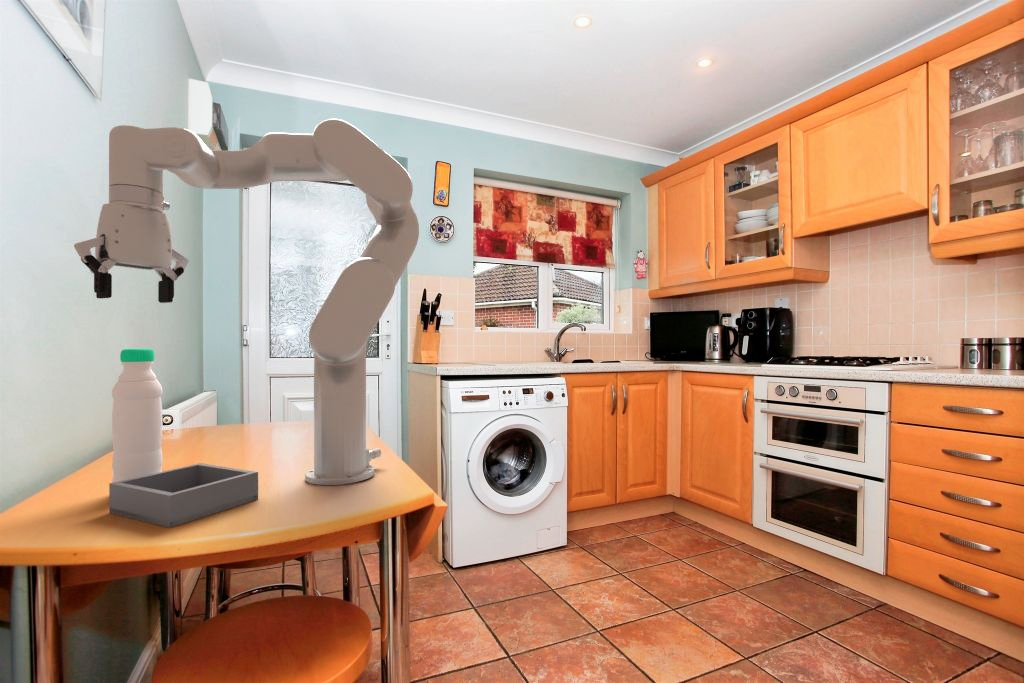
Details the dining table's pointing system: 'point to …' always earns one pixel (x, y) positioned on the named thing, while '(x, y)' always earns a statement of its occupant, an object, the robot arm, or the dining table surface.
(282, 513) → the dining table surface
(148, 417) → the water bottle
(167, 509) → the tray
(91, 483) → the dining table surface
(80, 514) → the dining table surface
